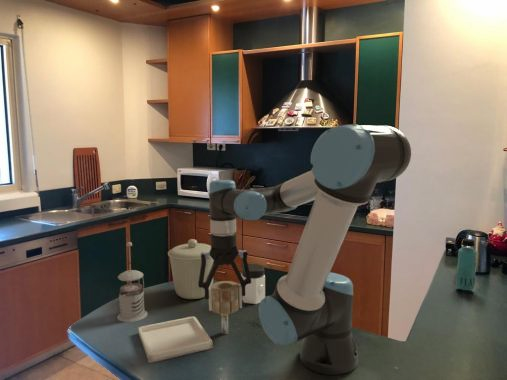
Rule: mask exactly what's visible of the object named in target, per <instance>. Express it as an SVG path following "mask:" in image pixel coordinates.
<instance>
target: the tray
mask: <svg viewBox="0 0 507 380" xmlns="http://www.w3.org/2000/svg"><path fill="white" fill-rule="evenodd" d="M199 321H200V320H198V318H197V317H196V316H195V315H193V316H187V317H183V318H178V319H172V320H167V321H162V322H158V323H152V324H147V325H143V326H138V327H137V332H138V337H139V339H140V341H141V344H142V347H143V350H144V352H145V356H146V358H147V361H148V364H151V363H156V362H161V361H165V360H168V359H173V358H178V357H181V356H185V355H190V354H195V353H198V352H202V351H207V350H212V349H214V342H213V340H212V338H211V337H210V335H209V334H208V333H207V331H206V330H205V328H204V327H203V326H202V325H201V323H200V322H199Z"/></svg>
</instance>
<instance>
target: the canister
mask: <svg viewBox="0 0 507 380" xmlns="http://www.w3.org/2000/svg"><path fill="white" fill-rule="evenodd" d="M210 250H211V244H210V245H209V244H207V243H201V242H200V243H198V241H197V239H194V238H191V239H189V240H188V241H187V243H183V244H178V245H176V246H174V247H172V248H171V249H170V250H169V251H167V255H168V257H169V259H170V268H171V274H172V281H173V286H174V291H175V293H176V295H177V296H179V297H180V298H181V299H182V298H183V299H186V300H198V299H203V298H205V289H204V288H202V287H201V288H200V287H199V286H198V281H199V274H200V268H201V262H202V260H201V253H202V252H203V253H207V252H210ZM213 262H214V260H213V259H212V257H211V256H209V257H208V260H207V261H206V268H205V274H204V280H203V282H205V281H206V279H207V277H208V274H209V272H210V270H211V267H212V265H213ZM212 284H214V278H213V279H212V281H211V284H210V286H211V285H212Z"/></svg>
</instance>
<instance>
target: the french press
mask: <svg viewBox="0 0 507 380" xmlns="http://www.w3.org/2000/svg"><path fill="white" fill-rule="evenodd" d="M125 246H126V247H128V255H129V261H131V253H130V252H131V250H130V247H132V246H133V243H132V242H131V241H128V242H126V245H125ZM117 279H118V280H120V281H121V282H131V283H127V284H124V285H122V286H120V287H119V291H118V298H119V299H118V300H119V314H118V315H117V316H116V318H117V320H118V321H120V322H123V323H132V322H133V323H134V322H138V321H141V320H143V319H146V318H147V316H148V315H149V313H148V311H147V310H145V299H144V297H145V296H144V294H145V291H144V289H145V282H144V281H145V280H144V273H143V272H141V271H139V270H136V269H131V265H129V269H128V270H125V271H123V272H121V273H120V274H119V275H118V276H117ZM141 279H142V284H141V283H140V280H141ZM132 281H138V283H135V282H134V283H132Z"/></svg>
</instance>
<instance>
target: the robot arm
mask: <svg viewBox="0 0 507 380" xmlns="http://www.w3.org/2000/svg"><path fill="white" fill-rule="evenodd" d="M411 158H412V148H411V144H410V141H409V140H408V138H407V137H406V135H405V134H404V133H402V132H401V130H399V129H397V128H395V127H393V126H390V125H380V124H378V125H371V124H369V125H368V124H367V125H365V124H364V125H362V124H361V125H360V124H359V125H358V124H355V123H352V124H351V123H350V124H348V123H347V124H343V125H339V126H338V125H337V126H334V127H331V128H329V129H327V130H325V131H324V132H322V134H320V136H319V137H318V138H317V140H316V142H315V143H314V144H313V147H312V150H311V153H310V165H312V168H311V170H309V171H306V172H304V173H302V174H300V175H298V176H296V177H293V178H290V179H289V180H287V181H284V182H282V183H280V184H278V185H275V186H270V187H262V188H259V187H258V188H252V189H237V188H236V182H235V181H234V180H232V179H218V180H217V179H216V180H212V181H210V182H209V190H208V191H209V193H208V196H209V197H208V199H209V201H208V202H209V217H210V219H209V220H210V221H209V223H210V225H209V226H210V227H209V229H210V233H211V234H210V246H211V250H210V252H207V253H203V252H202V253H201V260H202V262H201V268H200V274H199V281H198V286H199V287H200V288H201V287H202V288H204V289H205V297H204V299H205V300H208V310H209V311H210V312H211V311H212V292H211V286H210V284H211V281H212V279H213V280H214V276H215V274H216V272H217V270H218V268H219V266H223V265H226V266H228V265H231V268H232V269H233V271H234V273H235V275H236V277H237V280H238V281H239V283H237V284H238V287H239V309H243V300H242V296H245V286H246V285H247V284H250V283H251V278H250V273H249V268H248V251H247V250H246V249H243V250H240V249H238V245H237V244H238V243H237V242H238V241H237V234H236V232H237V218H240V219H243V220H247V221H256V220H259V219H261V218H262V217H263V216H266V215H271V214H276V213H277V214H278V213H286V212H290V211H292V210H296V209H297V208H298V206H301V205H304V204H307V203H310V202H313V204H312V206H311V209H310V211H309V215H308V218H307V220H306V223H305V226H304V229H303V231H302V234H301V237H300V239H299V242H298V245H297V247H296V250H295V252H294V255H293V258H292V261H291V264H290V267H289V269H288V272H287V274H285V275H283V276H281V277H280V278H279V279H278V280H277V283H276V286H275V288H274V291H273V293H272V294H271V295H267V296H266V295H265V298H264V299H262V300H261V302H260V303H258V316H259V317H258V318H259V322H260V324H261V326H262V329H263V331H264V333H265V334H266V336H267V337H268V338H269V339H270V340H271V341H272V342H273V343H274V344H276V345H278V346H282V347H283V346H288V345H292V344H296V343H297V342H299V341H301V340H302V344H301V345H300V349H299V358H300V362H301V363H302V364H303V366H305V367H306V368H307V369H310V371H313V372H316V373H318V374H322V375H330V376H337V375H345V374H348V373H350V372H352V371H353V370H355V369H356V368H357V366H358V362H359V354H358V353H359V352H358V350H357V346H356V343H355V339H354V336H353V333H352V332H353V331H352V330H353V305H354V304H353V303H354V296H355V295H354V284H353V282H352V280H351V278H349V277H347V276H346V275H343V274H339V273H336V272H331V271H332V268H333V266H334V264H335V261H336V259H337V257H338V254H339V252H340V250H341V246H342V244H343V243H344V239H345V238H346V235H347V232H348V230H349V228H350V225H351V223H352V222H353V221H352V220H353V218H354V216H355V214H356V212H357V210H358V207H359V206H362V205H366V204H368V202H369V201H370V199H371V197H372V195H373V193H374V190H375V188H376V185H377V183H378V184H379V183H383V182H387V181H392V180H394V179H396V178H398V177H400V176H401V175H402V174H404V172H405V171H407V168H408V167H409V165H410V162H411ZM209 256H211V257H212V259H213V260H214V262H213V265H212V267H211V270H210V272H209V274H208V277H207V279H206V281H205V282H203V280H204V274H205V268H206V261H207V260H208V257H209ZM238 256H239V258H240V259H241V261H242V267H244V272H245V277H246V279H244V280H243V278H242V276H241V272H240V270H239V267H238V266H237V264H236V262H235V260H236V258H237V257H238ZM212 312H213V311H212Z"/></svg>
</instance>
